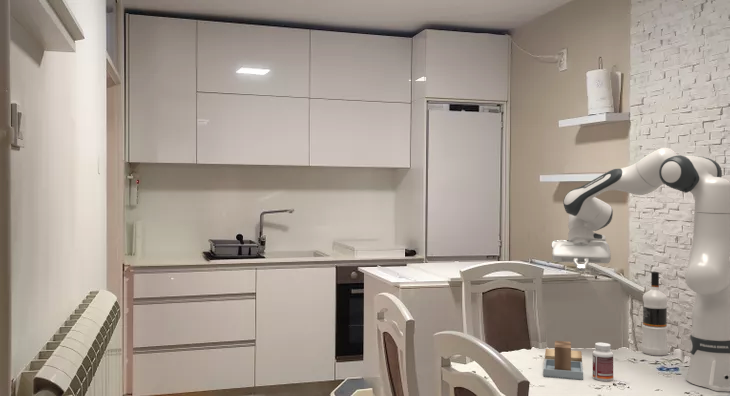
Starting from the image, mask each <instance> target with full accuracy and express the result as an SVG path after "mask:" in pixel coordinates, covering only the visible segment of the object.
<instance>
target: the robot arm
mask: <svg viewBox="0 0 730 396" xmlns="http://www.w3.org/2000/svg"><path fill="white" fill-rule="evenodd" d="M722 176H723V170H722V168H721V166H720V164H719V163H718V162H717V161H716V160H713V159H711V158H709V157H700V156H696V155H678V153H677V152H676V151H674V150H673V149H672V148H670V147H659V148H658V149H656V150H654V151H651V152H650V153H648V154H647V155H645V156H643V157H642V158H641V159H639V160H638V161H637V162H635V163H633V164H631V165H628V166H624V167H621V168H613V169H611V170H608V171H607V172H605V173H602V175H599V176H598V177H596V178H594V179H593V180H590V181H589V182H587V183H585V184H583V185H581V186H579V187H576V188H573V189H571V190H569V192H567V193H566V194H565V196H564V198H563V207H564V210H565V212H566V214H568V220H567V221H568V224H567V225H568V234H567V235H568V238H567V239H555V240H553V241H552V242H551V249H552V251H551V254H552V255H551V256H552V257H551V259H552V261H553V262H555V263H556V262H557V263H559V262H560V263H573V265H574V266H575V267H576V271H578V272H586V268H587V267H588V266H589V263H591V264H609V263H610V262H611V259H612V258H611V257H612V255H611V249H610V246H609V243H608V242H607V236H606V235H604V234H601V233H597V232H596V231H599V230H602V229H604V228H605V227H607V226H608V225H609V224H610V223H611V222H612V220H613V212H614V210H613V208H612V205H610V204H609V203H608V202H605V201H603V200H602V199H599V198H597V196H599V195H601V194H603V193H604V192H607V191H620V192H624V193H629V194H630V195H636V196H645V195H648V194H651V193H652V192H654V191H655V190H657V189H658V188H660V187H662V185H663V184H664V185H665V186H667V187H669V188H671V189H673V190H677V191H679V192H683V193H684V194H685V193H690V194H692V196H693V197H694V198H693V199H694V209H693V210H694V214H693V215H694V217H693V233H692V235H693V236H692V243H691V247H690V252H689V256H688V257H689V258H688V263H687V268H686V270H685V273H684V281H685V284H686V285H687V287H688V288H689V289H690V290H691V291H692V292H695V299H694V304H693V306H692V309H691V334H690V337H689V338H690V339H689V352H690V359H689V366H688V370H687V373H686V376H685V381H687V382H688V383H689V384H693V385H696V386H698V387H699V386H700V387H703V388H707V389H709V390H712V391H715V392H727V393H728V392H730V181H729V180H728V179H726V178H725V177H722ZM579 263H583V264H579Z"/></svg>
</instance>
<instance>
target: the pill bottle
mask: <svg viewBox="0 0 730 396" xmlns="http://www.w3.org/2000/svg"><path fill="white" fill-rule="evenodd" d="M611 346H612V345H611V344H610V343H607V342H595V344H594V350H593V351H592V378H593V379H594V380H596V381H601V382H610V381H613V380H614V353H613V352H612V351H611V348H612V347H611Z"/></svg>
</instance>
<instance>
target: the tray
mask: <svg viewBox="0 0 730 396" xmlns="http://www.w3.org/2000/svg"><path fill="white" fill-rule="evenodd" d="M543 378H553V379H563V380H565V379H566V380H573V381H584V368H583V361H582V362H578V361H571V371H567V370H555V360H552V359H545V358H544V363H543Z"/></svg>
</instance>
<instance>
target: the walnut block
mask: <svg viewBox="0 0 730 396" xmlns="http://www.w3.org/2000/svg"><path fill="white" fill-rule="evenodd" d="M554 349H555V370H567V371H571V351H572V342H571V341H565V340H564V341H563V340H562V341H561V340H555V341H554Z"/></svg>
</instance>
